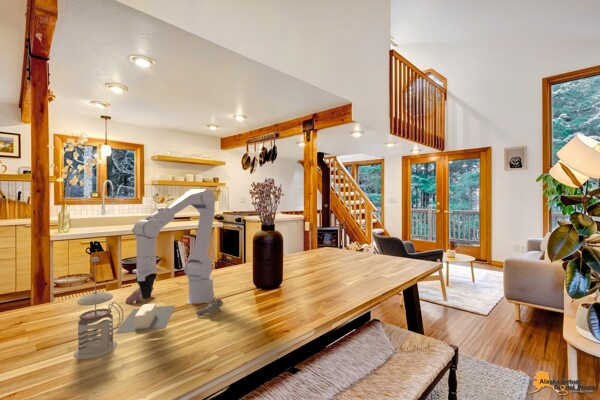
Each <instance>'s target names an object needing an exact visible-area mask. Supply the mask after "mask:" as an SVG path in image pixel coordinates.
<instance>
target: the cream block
mask: <svg viewBox="0 0 600 400" xmlns="http://www.w3.org/2000/svg"><path fill="white" fill-rule="evenodd" d="M156 307H157V303H147V304H146V303H145V304H143V305H141V307H140V308H138V309H139V311H138V312H137V314H136V315H135V329H139V328H148V327H150V325H151V323H152V321H153V319H154V318H155V316H156Z"/></svg>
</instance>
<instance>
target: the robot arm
mask: <svg viewBox="0 0 600 400" xmlns="http://www.w3.org/2000/svg"><path fill="white" fill-rule="evenodd" d="M216 198H217V196H216V194H215V193H214V192H213V190H212V189H210V188H204V189H193V188H191V189H189V190H188V191H186V192H184V194H183V195H182V196H181V197H180V198H178V199H176V200H175V201H174V202H173V203H171V204H170V205H169V206H168V207H167V206H159V207H157V208H156V209H157V210H156V211H154V212H153V213H151V214H148V215H146V216H145V219H139V220H138V221H136V222H135V223H134V225H133V228H132V229H131V230H132V231H131V232H132V233H133V235H134V236H135V241H136V243H135V244H136V269H133V270H132V273H133V274H136V275H137V276H136V277H135V281H136V283H137V284H138V286H139V288H140V289H141V293H142V297H143V298H144V299H149V298H151V296H152V292H153V291H152V288H154V287H153V286H154V282H155V281H156V278H157V276H158V273H156V272H157V271H158V268H157V236H158V235H159V234H160V232H161V229H163V228H164V227H165V226H167V225H168V224H170V222H172V221H174V220H175V215H177V214H178V213H180V212H181V211H182V210H184V209H185V208H187V207H189V206H192V207H193V208H194V209H196V211H197V212H198V213H199V218H198V224H197V228H196V229H197V230H196V237H195V242H194V246H193V251H192V253H191V254H190V255H189V256H188V257H187V261H186V263H185V265H184V267H183V268H184V269H183V272H184V273H185V275H186V277H187V279H188V298H187V302H186V305H194V304H205V303H211V302H210V300H211V301H212V303H214V296H215V294H214V293H215V291H214V277H210V276H211V274H212V272H213V265H212V262H213V260H212V258H211V257H210V256H209V249H210V248H209V246H210V244H211V243H210V241H211V236H212V232H213V231H212V230H213V225H214V224H213V223H214V219H215V211H216V210H215V205H216ZM143 298H142V299H143Z"/></svg>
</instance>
